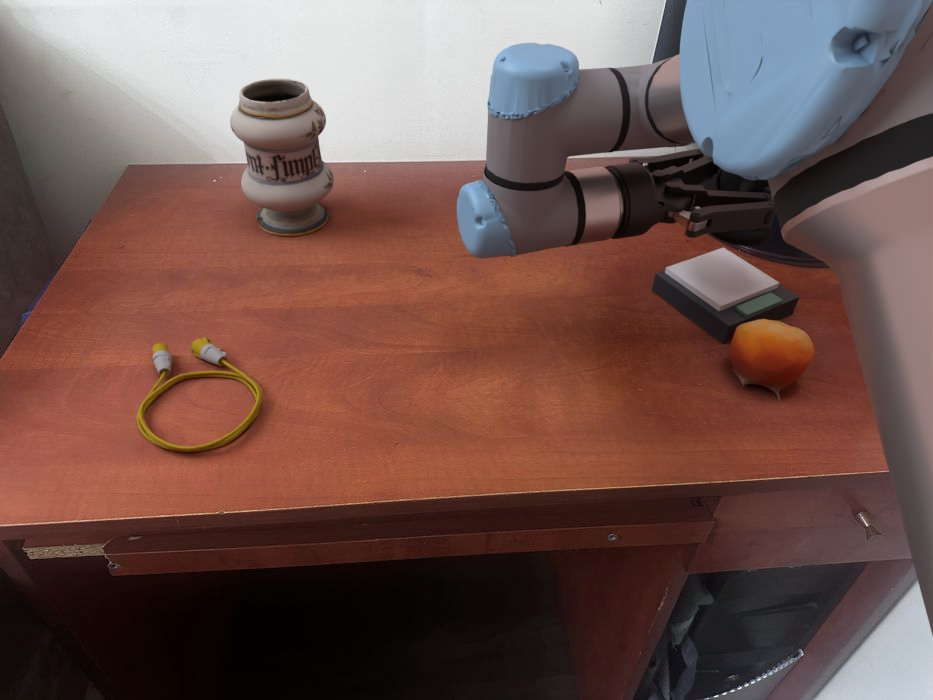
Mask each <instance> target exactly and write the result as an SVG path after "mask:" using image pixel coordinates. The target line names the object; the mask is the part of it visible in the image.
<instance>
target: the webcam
mask: <svg viewBox="0 0 933 700" xmlns="http://www.w3.org/2000/svg"><path fill="white" fill-rule="evenodd" d="M716 175H717V176H716ZM716 175H715V187H716V190H717V191H739V192H763V189H764V187H769V183H768V180H760V179H758V180H749V179H745V178H743V177H742V176H739V175H736V174H733V173H729V172H726V171H724V170H722V169H721V168H720V167H719V169H718V172H717V174H716ZM772 225H773V224H771V227H770V228H762V229H757V230H758V231H756V232H749V230H739V231H728V232H717V233H709V234H710V235H711V236H713V237H714V238H716V239H717V240H720V241H722V242H725V243H727V244H731V245H734V246H742V247H754V246H755V247H756V246H760V245H762V244H765V243H766V242H767V241H769V240H770V238H771V237H772V236H773V235H772V234H773V226H772Z"/></svg>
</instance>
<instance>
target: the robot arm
mask: <svg viewBox="0 0 933 700" xmlns="http://www.w3.org/2000/svg"><path fill="white" fill-rule="evenodd" d="M681 25H682V26H681V33H680V42H679V53H678V54H676V55H674V56H672V57H671V56H670V57H668V58H666V59H662V60H659V61H657V62H653V63H648V64H641V65H632V66H631V65H630V66H620V67H597V68H596V67H595V68H581V69H580V64H579V63H580V61H579V59H578V57H577V55H576V54H575V53H574V52H573V51H571V50H569V49H568V48H565V47H563V46H560V45H556V44H551V43H545V44H544V43H543V44H542V43H537V42H521V43H517V44H513V45H512V44H511V45H509V46H508V47H505V48H504V49H502V50H501V51H500V52H499V53H498V54H497V55H496V56H495V58H494V61H493V65H492V72H491V75H490V85H489V93H488V98H487V105H486V107H487V126H486V130H487V131H486V133H487V134H486V151H485V152H486V153H485V154H486V155H485V156H486V157H485V165H484V168H483V177H482V179H478V180H477V179H476V180H475V181H471V182H467V183H465V184H464V185H463V186H462V187H461V188H460V190H459V192H458V197H457V200H456V219H457V220H456V221H457V227H458V231H459V235H460V238H461V242H462V243H463V245H464V247H465V248H466V250H467V251H468V253H469V254H470V255H471V256H473V257H474V258H477V259H491V258H500V257H510V258H515V257H516V256H521V255H526V254H530V253H535V252H540V251H544V250H545V251H546V250H551V249H556V248H562V247H565V248H566V247H570V246H571V247H572V246H577V245H583V244H589V243H590V244H591V243H597V242H604V241H608V240H610V239H611V240H621V239H626V238H627V239H628V238H632V237H633V238H634V237H639V236H643V235H645V234H646V233H647V232H648V231H650V229H651V228H653V227H654V226H655V225H657V224H670V225H671V224H672V225H673V224H676V223H679V224H680V225H681V226H683V227H685V228H686V229H685V232H684V235H685V236H686V237H687V238H691V239H694V238H695V239H696V238H698V237H701V236H703V235H707V234H710V233H717V232H728V231H739V230H748V231H750V230H758V229H762V228H770V227H771V225H773V224H772V223H773V221H774V217H775V215H776V217H777V220H778V225H779V228H780V233H781V237H782V240H783V241H784V242H785V243H786V244H788V245H790V246H792V247H794V248H796V249H798V250H800V251H802V252H803V253H805V254H808V255H810V256H812V257H813V258H816V259H818V260H819V261H821V262H823V263H825V264H826V265H827V266H828V267H829V268H830V269H831V270H832V271H833V272H834V273H835V275H836V277H837V281H838V285H839V289H840V292H841V296H842V299H843V304H844V308H845V311H846V315H847V318H848V322H849V326H850V331H851V334H852V338H853V342H854V345H855V349H856V352H857V357H858V360H859V364H860V367H861V371H862V375H863V379H864V383H865V386H866V390H867V394H868V398H869V402H870V405H871V409H872V413H873V416H874V421H875V424H876V427H877V428H876V429H877V431H878V436H879V439H880V443H881V447H882V451H883V454H884V458H885V461H886V465H887V470H888V473H889V476H890V481H891V484H892V488H893V492H894V495H895V496H894V497H895V499H896V503H897V508H898V511H899V515H900V519H901V522H902V526H903V530H904V532H905V538H906V541H907V545H908V548H909V552H910V556H911V561H912V563H913V567H914V571H915V575H916V578H917V582H918V583H917V584H918V586H919V591H920V593H921V598H922V601H923V605H924V609H925V612H926V613H925V614H926V616H927V621H928V624H929V628H930V631H931V636H933V0H686V2H685V7H684V13H683V19H682V24H681ZM692 144H696V146H697V148H693V149H687V150H683V151H678V152H677V151H676V152H673V153H667V154H661V155H656V156H651V157H631V158H629V159H628V162H627V163H619V164H611V165H606V166H601V165H600V166H593V167H585V168H579V169H571V170H566V166H567V162H568V158H570V157H577V156H588V155H596V154H597V155H598V154H609V153H610V154H611V153H614V152H624V151H625V152H626V151H637V150H638V151H639V150H649V149H661V148H662V149H663V148H678V147H679V148H680V147H681V148H682V147H687V146H690V145H692ZM690 160H691V161H690ZM719 167H720V168H721V169H722V170H724V171H726V172H729V173H733V174H736V175H739V176H742V177H743V178H745V179H749V180H758V179H760V180H768V183H769V187H764V189H763V192H739V191H717V189H716V190H714V189H706V188H705V186H703V185H701V184H704V183H705V182H707V181H710V180H712V179H714V176H715V177H716V176H717V172H718V169H719Z"/></svg>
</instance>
